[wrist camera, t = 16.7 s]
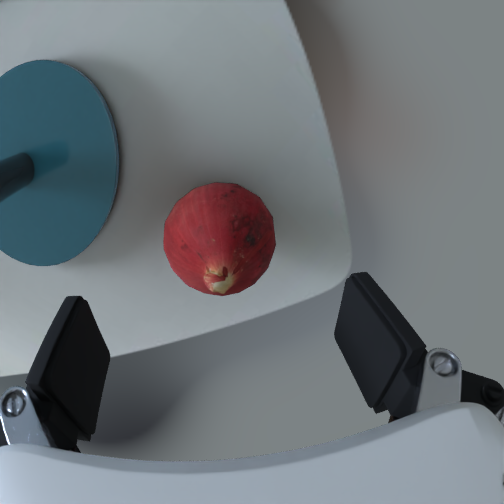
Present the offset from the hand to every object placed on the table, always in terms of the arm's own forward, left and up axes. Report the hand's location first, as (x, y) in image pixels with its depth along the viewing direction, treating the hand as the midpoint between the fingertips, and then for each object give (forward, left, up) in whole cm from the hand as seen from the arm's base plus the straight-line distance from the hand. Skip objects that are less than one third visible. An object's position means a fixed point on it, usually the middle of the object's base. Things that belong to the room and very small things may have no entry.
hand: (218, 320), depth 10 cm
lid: (+13, -5, -9) cm, 17 cm away
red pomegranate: (0, 0, -10) cm, 10 cm away
